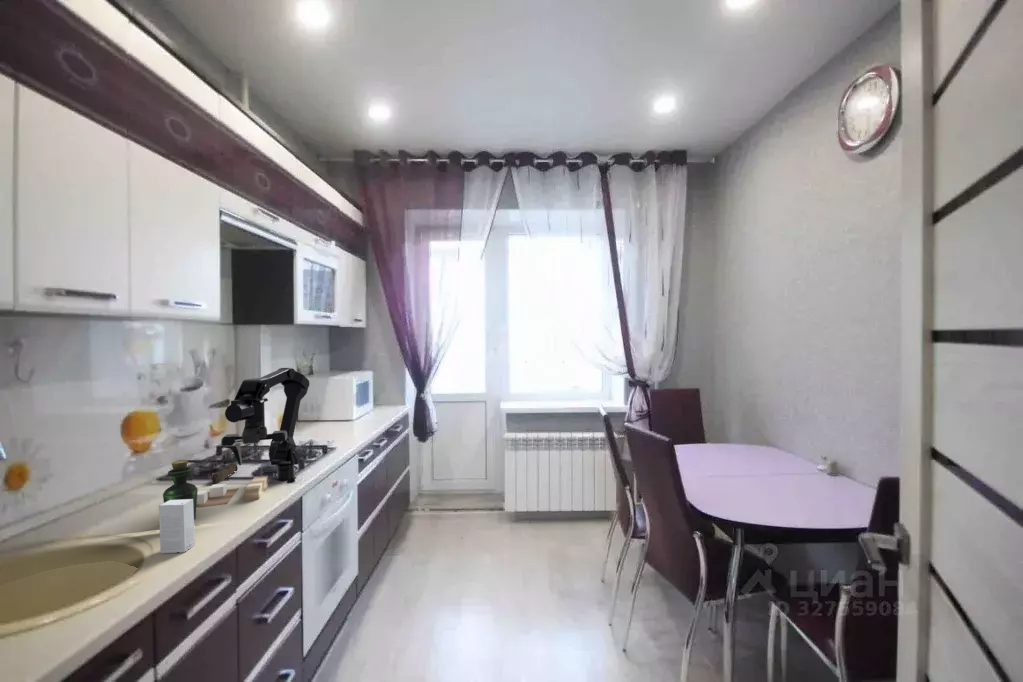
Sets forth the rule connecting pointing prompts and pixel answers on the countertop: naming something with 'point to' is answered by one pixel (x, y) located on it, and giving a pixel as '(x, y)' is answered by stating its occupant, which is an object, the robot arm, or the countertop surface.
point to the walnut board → (219, 499)
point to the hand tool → (224, 473)
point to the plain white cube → (217, 490)
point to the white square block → (202, 497)
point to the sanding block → (256, 488)
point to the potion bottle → (181, 484)
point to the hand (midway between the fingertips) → (256, 463)
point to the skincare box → (176, 526)
